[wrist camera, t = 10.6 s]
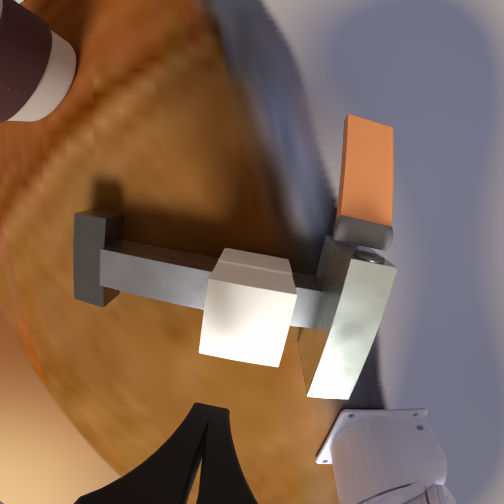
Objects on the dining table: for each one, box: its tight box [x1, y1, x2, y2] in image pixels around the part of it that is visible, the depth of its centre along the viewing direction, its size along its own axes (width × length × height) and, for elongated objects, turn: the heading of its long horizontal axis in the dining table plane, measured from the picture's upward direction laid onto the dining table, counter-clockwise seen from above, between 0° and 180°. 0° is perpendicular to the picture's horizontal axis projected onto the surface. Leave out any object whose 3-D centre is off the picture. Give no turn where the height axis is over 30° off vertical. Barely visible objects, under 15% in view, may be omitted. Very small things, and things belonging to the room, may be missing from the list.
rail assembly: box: [74, 209, 398, 399], centre depth 17 cm, size 18×8×6 cm, turn 80°
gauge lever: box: [333, 114, 394, 251], centre depth 16 cm, size 3×8×1 cm, turn 170°
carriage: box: [199, 248, 297, 367], centre depth 16 cm, size 4×4×6 cm
